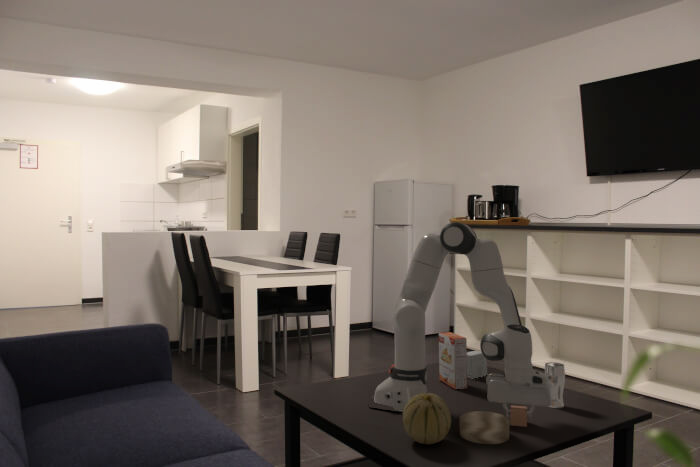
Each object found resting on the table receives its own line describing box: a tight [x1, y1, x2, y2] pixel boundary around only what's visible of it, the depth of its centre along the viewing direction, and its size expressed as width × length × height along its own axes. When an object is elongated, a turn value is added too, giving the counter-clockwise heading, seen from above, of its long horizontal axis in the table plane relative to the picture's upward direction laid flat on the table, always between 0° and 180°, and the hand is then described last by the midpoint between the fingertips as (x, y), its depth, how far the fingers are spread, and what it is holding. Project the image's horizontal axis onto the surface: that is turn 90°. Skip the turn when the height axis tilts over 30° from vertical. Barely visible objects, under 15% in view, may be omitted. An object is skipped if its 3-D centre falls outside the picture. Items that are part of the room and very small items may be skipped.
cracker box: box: [438, 331, 468, 390], centre depth 230 cm, size 14×6×21 cm, turn 17°
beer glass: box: [544, 361, 566, 409], centre depth 201 cm, size 7×7×15 cm
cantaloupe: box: [402, 392, 452, 445], centre depth 168 cm, size 15×15×15 cm
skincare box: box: [467, 350, 488, 380], centre depth 244 cm, size 10×6×10 cm, turn 128°
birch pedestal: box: [459, 410, 510, 445], centre depth 173 cm, size 15×15×5 cm
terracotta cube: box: [510, 404, 528, 428], centre depth 183 cm, size 5×5×5 cm
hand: (518, 417), depth 183 cm, fingers closed on terracotta cube, 5 cm apart
